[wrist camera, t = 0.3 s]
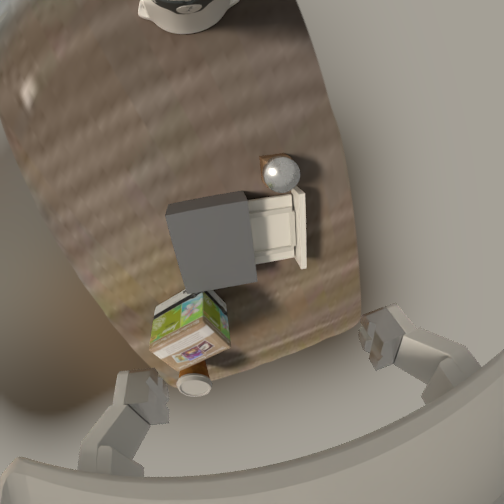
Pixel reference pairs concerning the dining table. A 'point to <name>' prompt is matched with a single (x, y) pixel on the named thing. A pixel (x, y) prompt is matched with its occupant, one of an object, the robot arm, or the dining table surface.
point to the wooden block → (265, 158)
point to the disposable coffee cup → (194, 380)
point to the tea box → (190, 329)
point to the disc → (281, 174)
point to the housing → (213, 241)
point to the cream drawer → (279, 227)
